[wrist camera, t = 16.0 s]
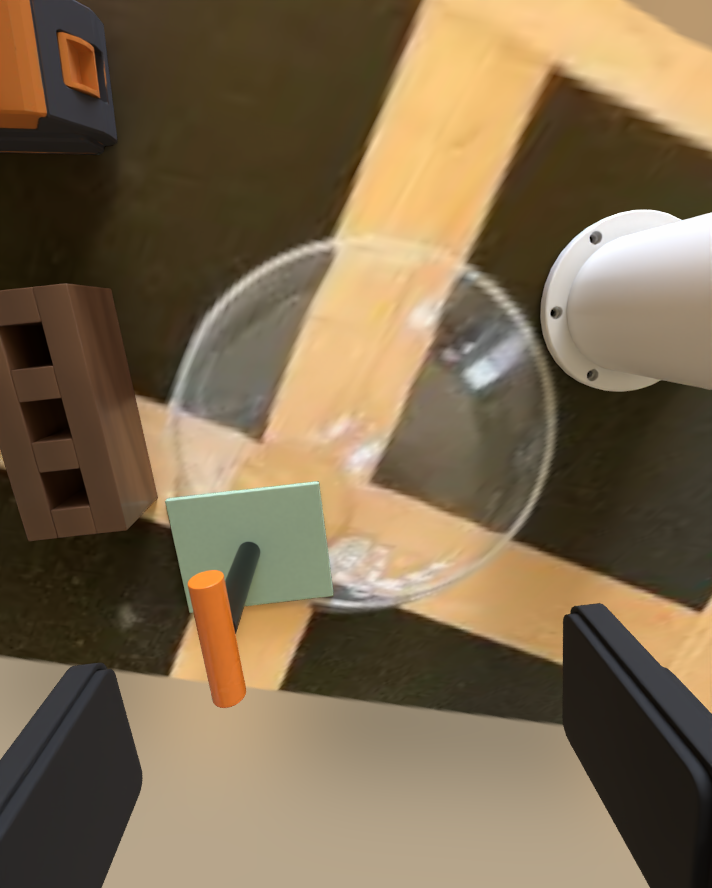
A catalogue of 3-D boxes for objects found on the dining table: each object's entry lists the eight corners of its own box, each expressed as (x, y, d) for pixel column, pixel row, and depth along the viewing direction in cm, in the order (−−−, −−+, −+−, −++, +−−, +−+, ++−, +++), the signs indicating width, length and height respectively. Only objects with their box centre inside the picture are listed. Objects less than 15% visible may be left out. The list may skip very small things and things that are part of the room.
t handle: (253, 503, 38) (219, 585, 27) (268, 593, 40) (243, 706, 29) (228, 506, 38) (182, 590, 27) (244, 596, 40) (209, 710, 29)
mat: (318, 480, 39) (318, 483, 38) (333, 592, 41) (333, 596, 41) (167, 498, 38) (164, 500, 38) (191, 608, 41) (189, 613, 40)
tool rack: (111, 288, 34) (66, 283, 29) (158, 498, 38) (127, 530, 33) (17, 298, 34) (-48, 295, 28) (74, 507, 38) (27, 541, 32)
